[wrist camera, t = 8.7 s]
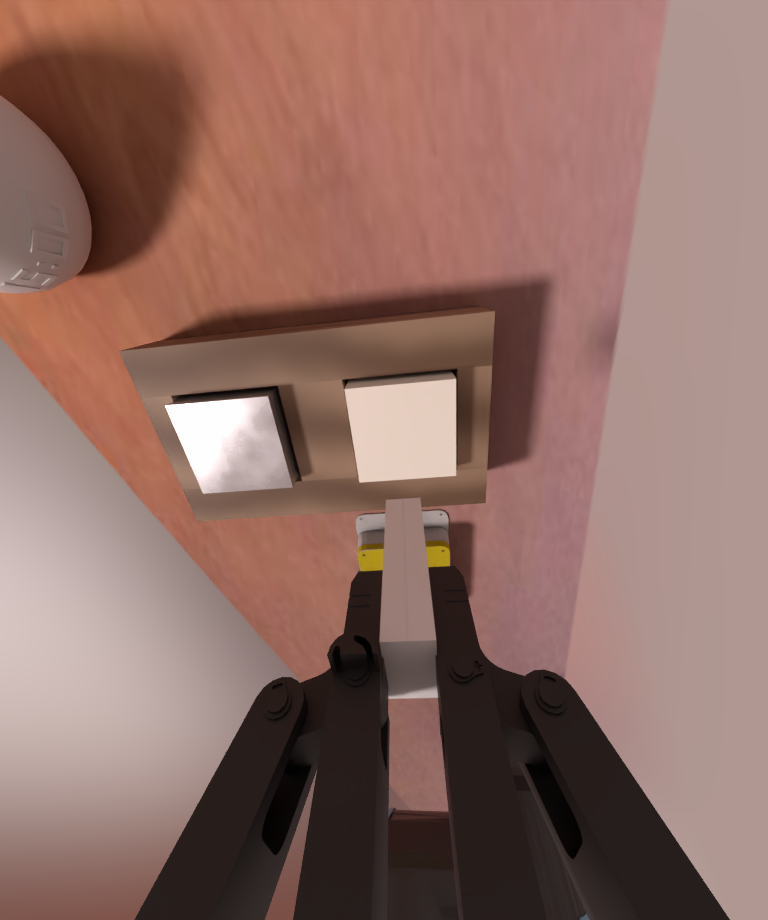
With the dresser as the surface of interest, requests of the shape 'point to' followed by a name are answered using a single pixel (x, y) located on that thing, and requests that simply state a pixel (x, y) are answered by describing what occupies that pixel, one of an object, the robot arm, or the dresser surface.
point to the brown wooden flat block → (327, 403)
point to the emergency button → (373, 539)
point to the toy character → (38, 209)
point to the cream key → (403, 425)
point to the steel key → (236, 439)
